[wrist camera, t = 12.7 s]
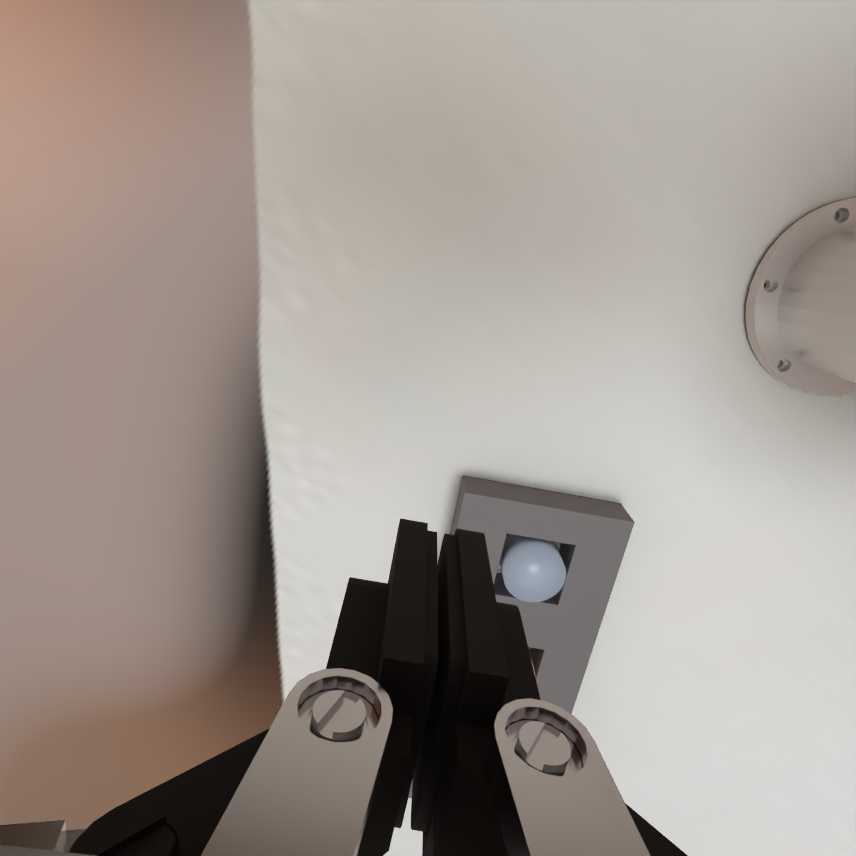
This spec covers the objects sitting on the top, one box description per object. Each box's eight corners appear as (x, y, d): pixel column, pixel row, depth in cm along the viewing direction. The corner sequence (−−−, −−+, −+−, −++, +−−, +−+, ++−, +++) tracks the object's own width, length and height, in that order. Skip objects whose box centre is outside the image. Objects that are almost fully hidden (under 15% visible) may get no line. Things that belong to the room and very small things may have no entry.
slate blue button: (563, 532, 42) (573, 553, 39) (549, 583, 44) (557, 606, 41) (506, 522, 42) (511, 542, 39) (493, 573, 43) (497, 596, 41)
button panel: (620, 503, 42) (634, 522, 39) (531, 784, 51) (537, 816, 48) (462, 475, 42) (464, 492, 39) (399, 764, 50) (396, 795, 47)
